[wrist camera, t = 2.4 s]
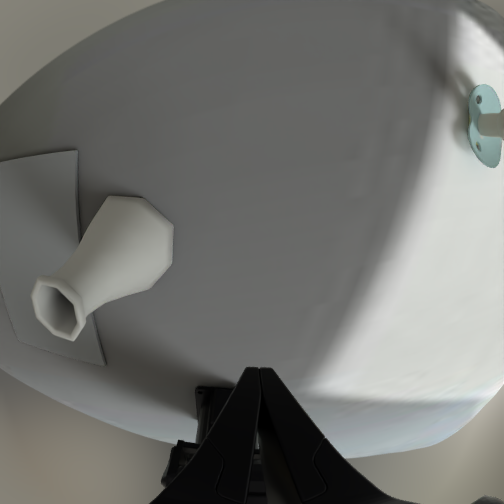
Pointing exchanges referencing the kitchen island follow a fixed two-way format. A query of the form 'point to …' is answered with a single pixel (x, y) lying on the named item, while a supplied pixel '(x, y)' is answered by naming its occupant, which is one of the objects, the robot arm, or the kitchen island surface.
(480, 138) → the pacifier
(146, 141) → the kitchen island surface
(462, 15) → the kitchen island surface
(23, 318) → the mat
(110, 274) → the flask
